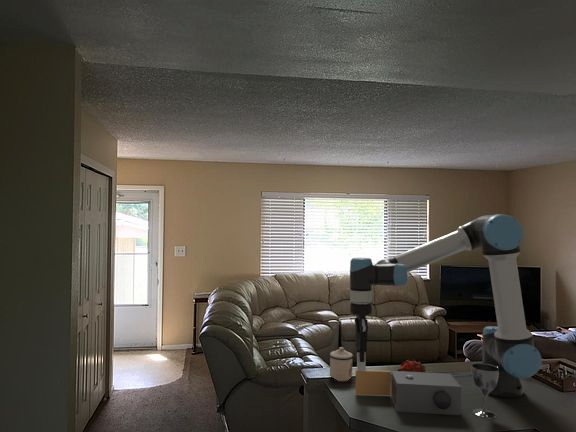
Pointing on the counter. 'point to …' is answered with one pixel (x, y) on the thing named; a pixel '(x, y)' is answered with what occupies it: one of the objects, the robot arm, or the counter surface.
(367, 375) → the door
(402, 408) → the camera case
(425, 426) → the counter surface
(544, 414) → the counter surface
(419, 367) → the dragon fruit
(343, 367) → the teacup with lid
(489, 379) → the wine glass
